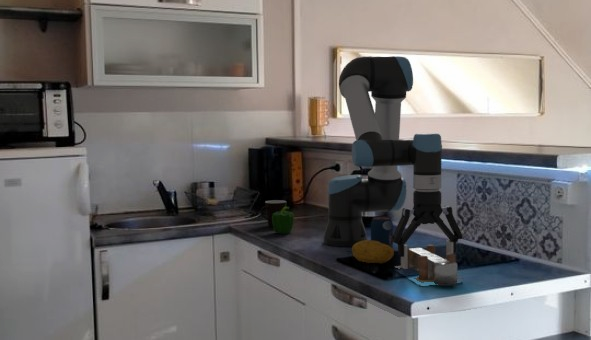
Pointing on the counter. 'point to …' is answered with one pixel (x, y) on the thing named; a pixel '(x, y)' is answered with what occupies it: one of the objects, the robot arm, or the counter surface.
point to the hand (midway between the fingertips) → (427, 266)
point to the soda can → (382, 230)
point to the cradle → (424, 264)
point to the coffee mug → (273, 209)
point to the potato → (372, 251)
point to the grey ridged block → (435, 267)
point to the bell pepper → (283, 221)
